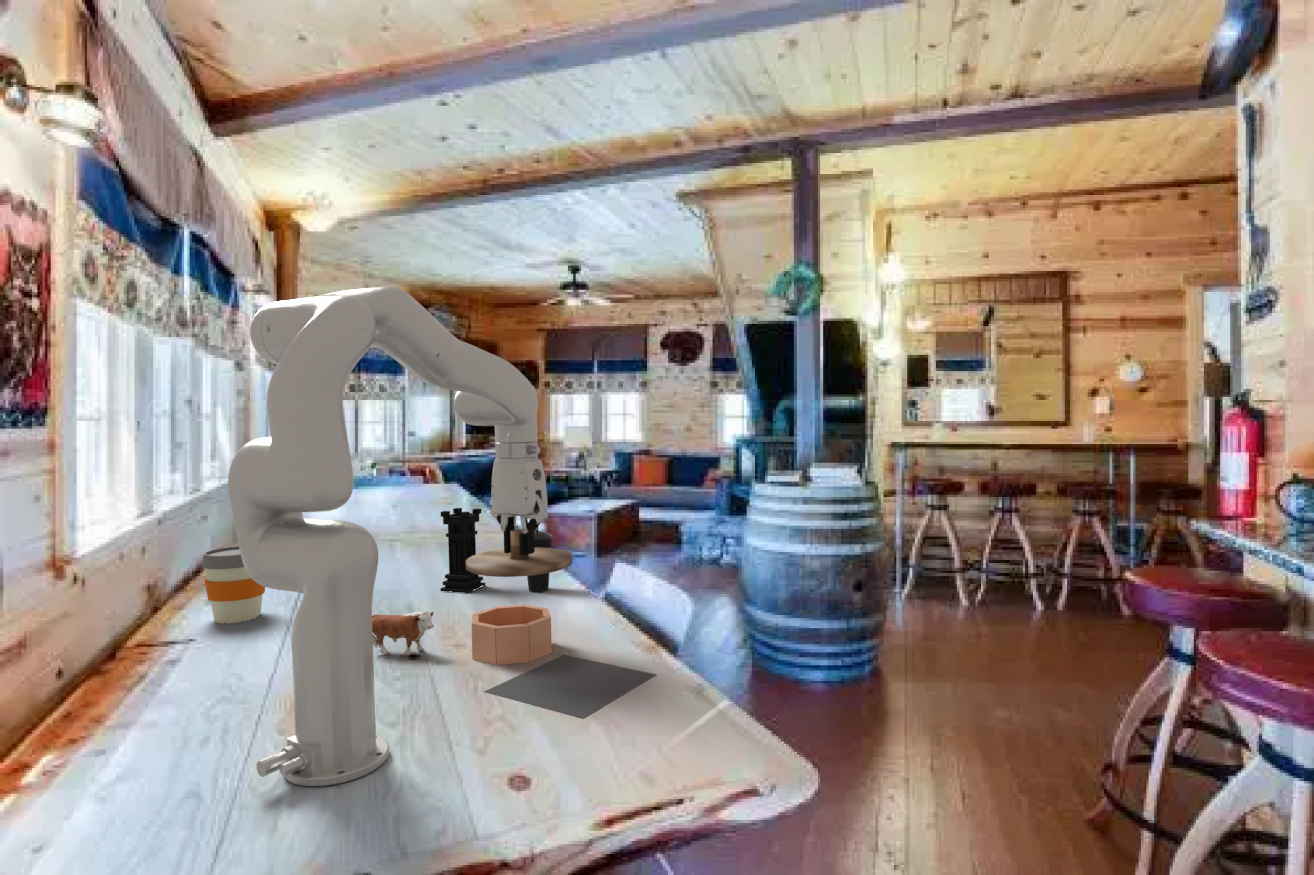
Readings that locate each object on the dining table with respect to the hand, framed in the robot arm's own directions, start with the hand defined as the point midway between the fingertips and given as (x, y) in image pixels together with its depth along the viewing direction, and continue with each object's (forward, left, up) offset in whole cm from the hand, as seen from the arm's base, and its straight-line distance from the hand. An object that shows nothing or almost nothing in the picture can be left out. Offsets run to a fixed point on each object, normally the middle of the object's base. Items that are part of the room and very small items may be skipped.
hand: (519, 552), depth 133 cm
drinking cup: (+39, +30, -20) cm, 53 cm away
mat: (-6, -17, -19) cm, 26 cm away
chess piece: (+31, +48, -20) cm, 61 cm away
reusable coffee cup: (-12, +73, -20) cm, 77 cm away
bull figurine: (-9, +21, -20) cm, 30 cm away
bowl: (+1, +3, -19) cm, 20 cm away
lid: (0, 0, -2) cm, 2 cm away
